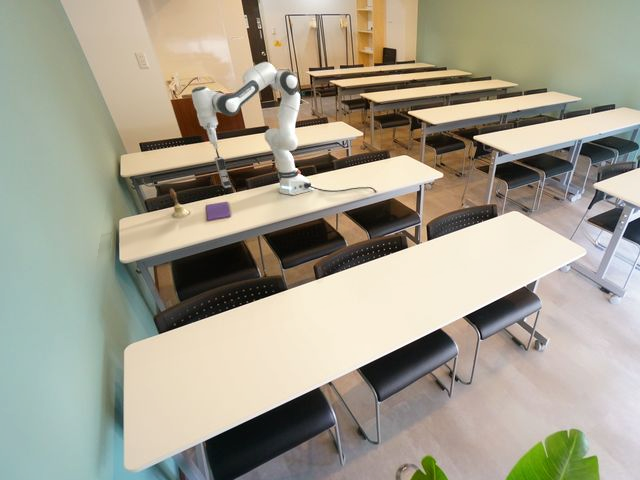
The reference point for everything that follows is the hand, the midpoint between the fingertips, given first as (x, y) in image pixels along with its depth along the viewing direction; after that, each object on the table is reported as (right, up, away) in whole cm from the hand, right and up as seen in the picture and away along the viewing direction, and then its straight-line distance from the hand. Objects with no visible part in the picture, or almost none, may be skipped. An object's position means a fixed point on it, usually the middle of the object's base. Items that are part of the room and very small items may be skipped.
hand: (216, 147), depth 188 cm
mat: (-8, -32, +18) cm, 38 cm away
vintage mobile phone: (0, -19, +12) cm, 22 cm away
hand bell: (-28, -35, +14) cm, 47 cm away
